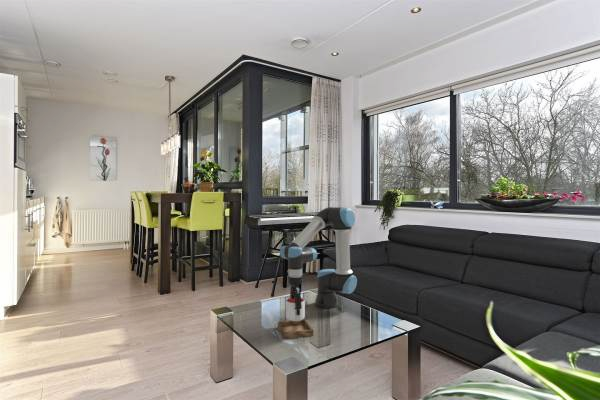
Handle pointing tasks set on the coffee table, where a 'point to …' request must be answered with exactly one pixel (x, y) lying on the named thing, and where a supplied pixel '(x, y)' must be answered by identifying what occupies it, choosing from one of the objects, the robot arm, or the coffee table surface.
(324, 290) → the robot arm
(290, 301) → the cup
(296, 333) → the wooden tray
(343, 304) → the coffee table surface
